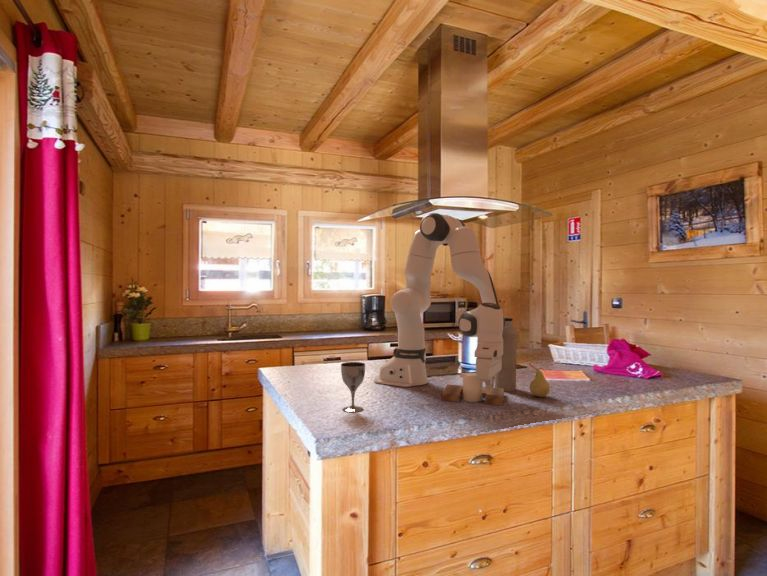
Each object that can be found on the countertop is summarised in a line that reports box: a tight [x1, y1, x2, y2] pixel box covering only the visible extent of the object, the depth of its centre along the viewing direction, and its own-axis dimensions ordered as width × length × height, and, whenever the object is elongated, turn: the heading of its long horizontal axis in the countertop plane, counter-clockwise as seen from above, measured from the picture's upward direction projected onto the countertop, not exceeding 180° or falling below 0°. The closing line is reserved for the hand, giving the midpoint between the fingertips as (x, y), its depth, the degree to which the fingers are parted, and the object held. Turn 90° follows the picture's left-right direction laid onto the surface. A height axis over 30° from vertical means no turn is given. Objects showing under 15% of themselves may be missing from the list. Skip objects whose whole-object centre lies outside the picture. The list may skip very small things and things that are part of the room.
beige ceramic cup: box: [459, 372, 492, 403], centre depth 157 cm, size 11×7×9 cm, turn 64°
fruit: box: [528, 363, 551, 398], centre depth 162 cm, size 7×8×12 cm
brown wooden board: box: [441, 384, 505, 406], centre depth 160 cm, size 21×14×2 cm, turn 74°
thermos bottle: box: [494, 317, 518, 393], centre depth 173 cm, size 8×8×28 cm
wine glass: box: [340, 361, 366, 414], centre depth 145 cm, size 8×8×15 cm
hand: (489, 388), depth 155 cm, fingers closed on beige ceramic cup, 2 cm apart
